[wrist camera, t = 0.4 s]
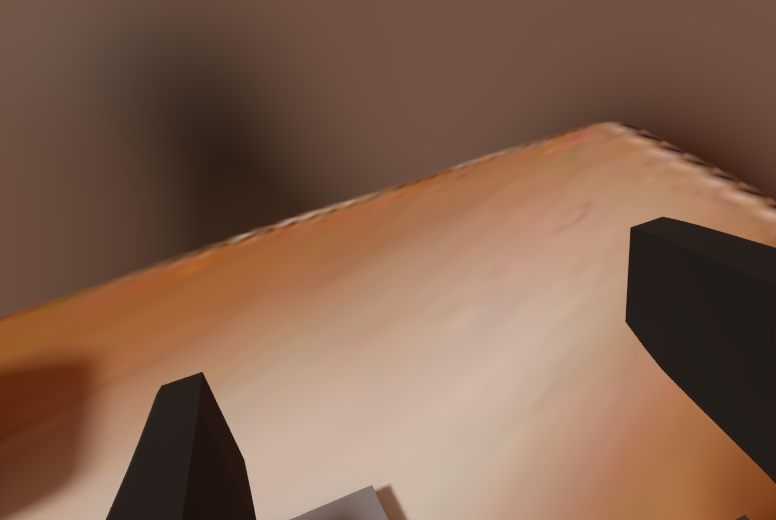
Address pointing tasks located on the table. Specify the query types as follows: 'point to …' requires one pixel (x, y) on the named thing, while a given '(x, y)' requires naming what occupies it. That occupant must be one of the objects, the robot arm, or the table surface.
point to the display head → (350, 508)
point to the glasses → (743, 518)
